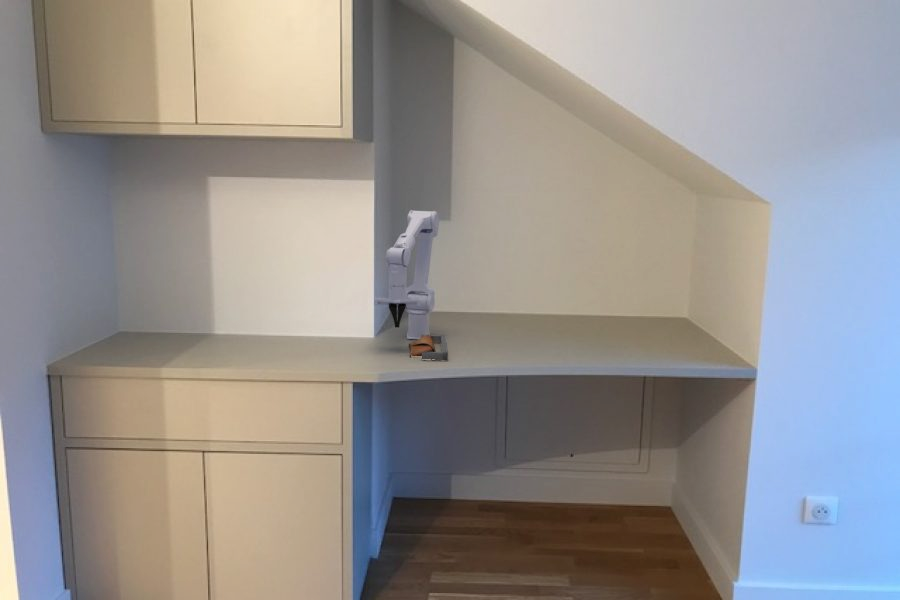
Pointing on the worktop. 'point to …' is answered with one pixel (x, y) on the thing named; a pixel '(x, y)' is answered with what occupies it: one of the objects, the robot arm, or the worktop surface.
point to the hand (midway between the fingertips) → (397, 326)
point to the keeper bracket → (437, 355)
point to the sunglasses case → (422, 346)
